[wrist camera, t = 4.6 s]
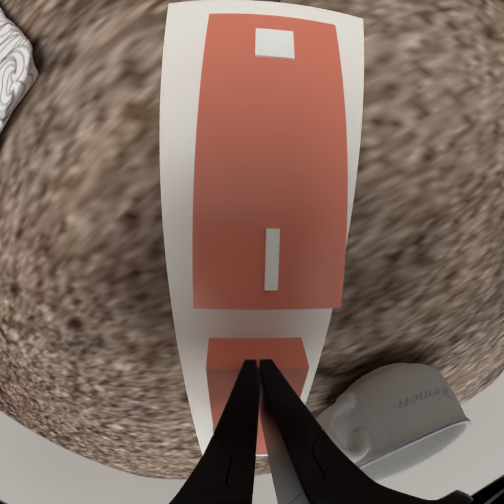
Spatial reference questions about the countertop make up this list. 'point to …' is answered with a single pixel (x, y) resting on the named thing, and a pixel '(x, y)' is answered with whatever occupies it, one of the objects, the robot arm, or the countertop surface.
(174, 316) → the power strip
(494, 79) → the countertop surface
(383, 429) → the teacup
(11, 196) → the countertop surface
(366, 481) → the robot arm
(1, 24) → the cookie jar
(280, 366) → the block
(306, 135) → the rocker
